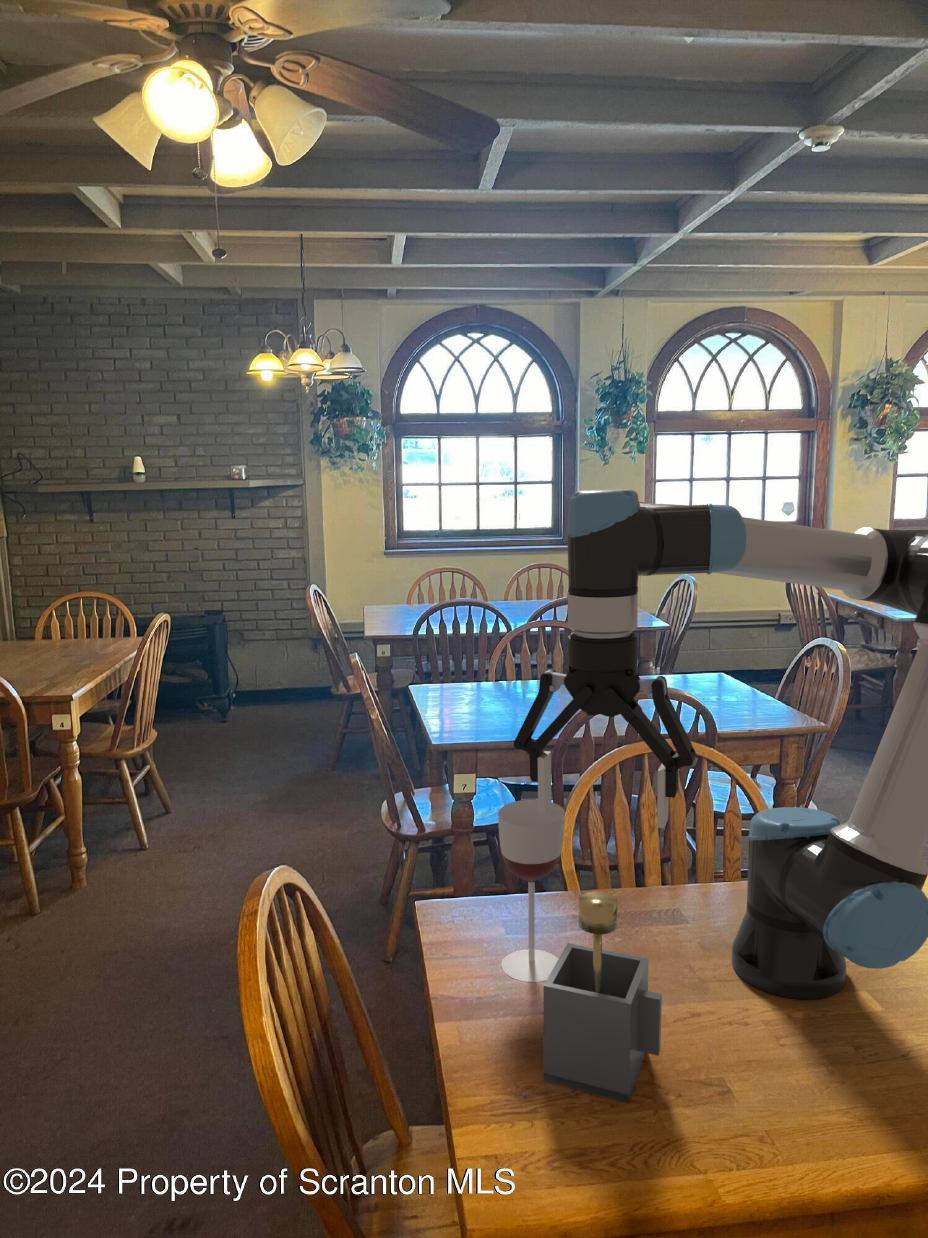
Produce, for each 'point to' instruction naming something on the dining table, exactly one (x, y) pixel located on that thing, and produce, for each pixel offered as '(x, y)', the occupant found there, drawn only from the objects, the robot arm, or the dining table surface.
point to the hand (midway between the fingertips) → (602, 816)
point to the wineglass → (530, 872)
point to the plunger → (597, 926)
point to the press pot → (599, 1023)
